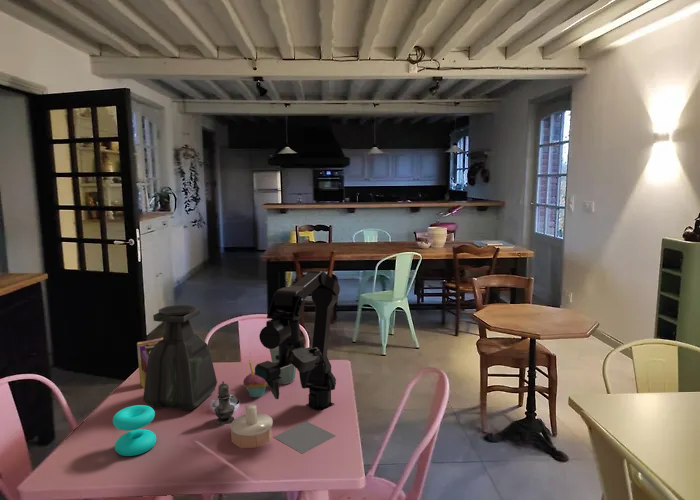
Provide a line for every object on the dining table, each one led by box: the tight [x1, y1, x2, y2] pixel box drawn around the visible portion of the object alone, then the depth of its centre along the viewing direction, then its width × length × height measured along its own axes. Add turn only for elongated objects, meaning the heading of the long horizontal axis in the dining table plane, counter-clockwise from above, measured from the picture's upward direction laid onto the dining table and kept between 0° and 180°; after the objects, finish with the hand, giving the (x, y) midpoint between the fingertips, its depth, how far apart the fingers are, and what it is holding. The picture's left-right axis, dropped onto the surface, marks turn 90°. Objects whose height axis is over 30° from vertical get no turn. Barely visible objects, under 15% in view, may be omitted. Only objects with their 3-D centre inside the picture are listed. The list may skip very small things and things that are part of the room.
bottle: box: [142, 304, 218, 411], centre depth 151 cm, size 18×16×30 cm
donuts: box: [112, 404, 157, 457], centre depth 125 cm, size 10×10×10 cm
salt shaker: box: [213, 380, 236, 426], centre depth 139 cm, size 6×6×12 cm
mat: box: [273, 421, 337, 454], centre depth 129 cm, size 12×12×1 cm
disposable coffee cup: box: [269, 347, 297, 385], centre depth 167 cm, size 11×11×15 cm
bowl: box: [230, 427, 273, 449], centre depth 128 cm, size 10×10×4 cm
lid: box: [230, 404, 274, 436], centre depth 128 cm, size 11×11×5 cm
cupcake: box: [243, 359, 269, 398], centre depth 157 cm, size 9×8×12 cm
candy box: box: [136, 337, 163, 389], centre depth 166 cm, size 9×4×15 cm, turn 127°
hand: (290, 393), depth 128 cm, fingers open, 9 cm apart
